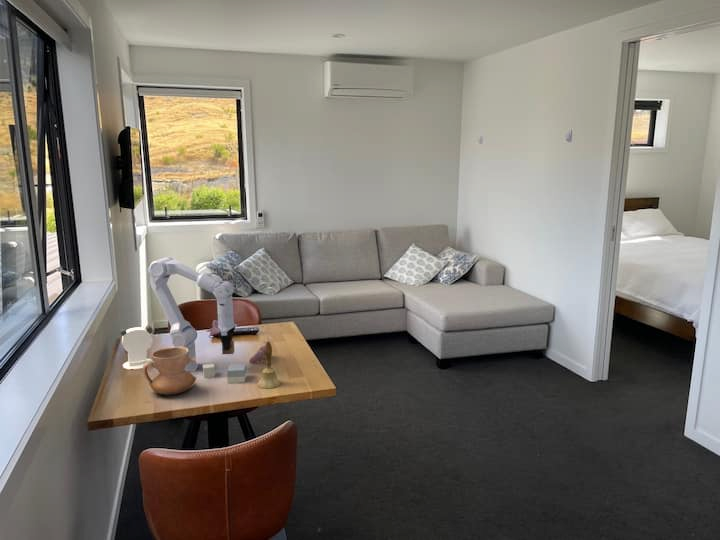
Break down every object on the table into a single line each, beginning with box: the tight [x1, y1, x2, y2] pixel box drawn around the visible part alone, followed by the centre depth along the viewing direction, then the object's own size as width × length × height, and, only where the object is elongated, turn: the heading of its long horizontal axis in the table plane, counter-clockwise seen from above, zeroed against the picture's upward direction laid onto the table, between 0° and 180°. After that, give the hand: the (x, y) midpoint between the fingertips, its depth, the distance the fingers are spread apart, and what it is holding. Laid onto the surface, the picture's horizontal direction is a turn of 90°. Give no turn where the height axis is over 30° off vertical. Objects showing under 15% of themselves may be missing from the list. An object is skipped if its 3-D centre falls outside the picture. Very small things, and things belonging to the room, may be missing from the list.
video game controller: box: [249, 345, 266, 365], centre depth 218 cm, size 10×5×7 cm, turn 169°
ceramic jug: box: [142, 346, 197, 396], centre depth 189 cm, size 18×14×14 cm
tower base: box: [226, 371, 247, 384], centre depth 199 cm, size 6×6×2 cm
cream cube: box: [202, 363, 216, 379], centre depth 203 cm, size 4×4×4 cm
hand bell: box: [257, 341, 282, 389], centre depth 193 cm, size 8×8×16 cm
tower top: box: [226, 363, 247, 377], centre depth 199 cm, size 6×6×2 cm
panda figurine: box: [120, 325, 154, 370], centre depth 214 cm, size 12×11×15 cm
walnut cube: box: [221, 340, 235, 355], centre depth 207 cm, size 4×4×4 cm
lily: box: [206, 319, 221, 338], centre depth 246 cm, size 12×12×10 cm
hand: (227, 348), depth 206 cm, fingers closed on walnut cube, 4 cm apart
